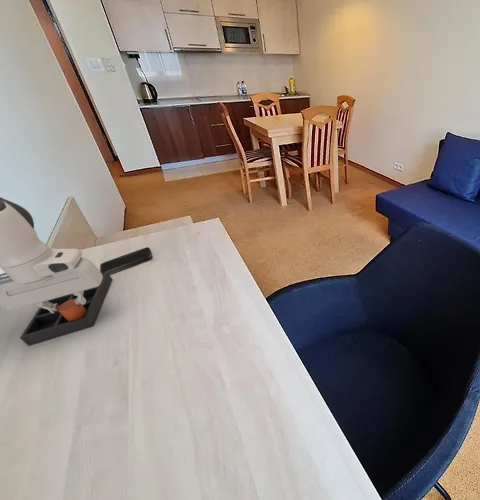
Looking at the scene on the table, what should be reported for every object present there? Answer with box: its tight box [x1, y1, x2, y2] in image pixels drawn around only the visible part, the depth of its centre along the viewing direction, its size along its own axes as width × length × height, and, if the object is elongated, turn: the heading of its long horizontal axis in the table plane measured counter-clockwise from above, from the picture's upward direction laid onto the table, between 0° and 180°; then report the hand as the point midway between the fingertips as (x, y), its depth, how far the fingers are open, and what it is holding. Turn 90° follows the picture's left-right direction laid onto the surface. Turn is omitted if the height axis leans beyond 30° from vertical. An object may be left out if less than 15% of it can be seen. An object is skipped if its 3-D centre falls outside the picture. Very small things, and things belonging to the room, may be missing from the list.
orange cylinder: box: [58, 299, 87, 322], centre depth 80 cm, size 4×4×4 cm
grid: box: [19, 272, 114, 347], centre depth 85 cm, size 14×21×3 cm
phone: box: [99, 246, 153, 276], centre depth 103 cm, size 8×1×15 cm
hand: (70, 307), depth 79 cm, fingers closed on orange cylinder, 4 cm apart
